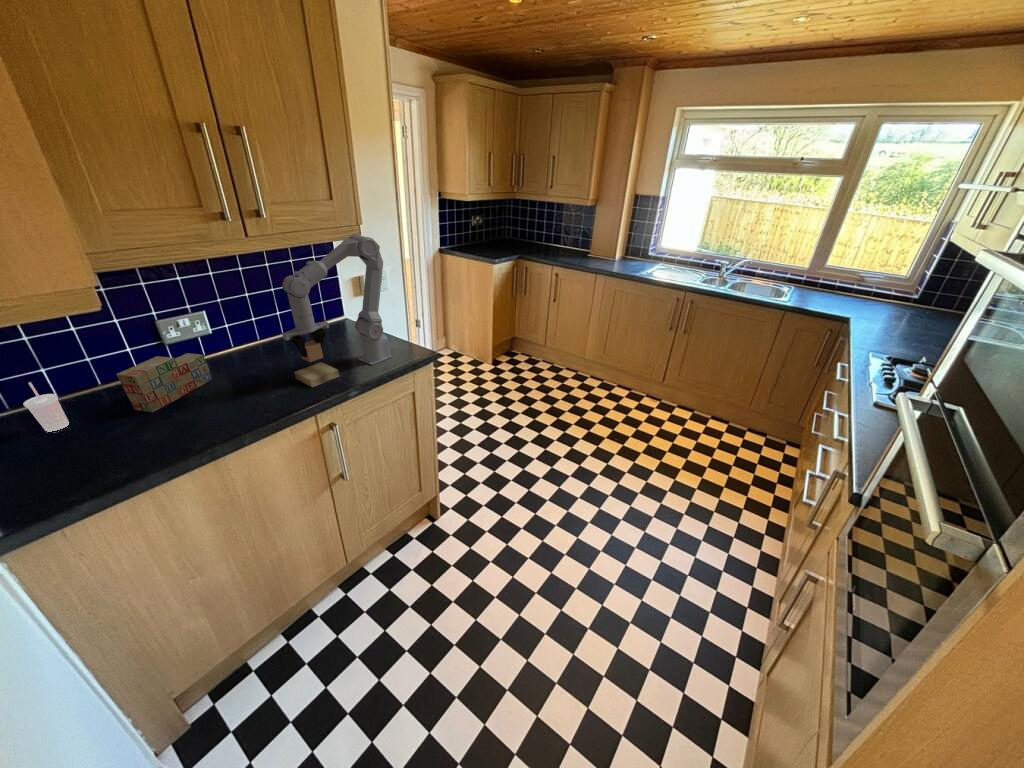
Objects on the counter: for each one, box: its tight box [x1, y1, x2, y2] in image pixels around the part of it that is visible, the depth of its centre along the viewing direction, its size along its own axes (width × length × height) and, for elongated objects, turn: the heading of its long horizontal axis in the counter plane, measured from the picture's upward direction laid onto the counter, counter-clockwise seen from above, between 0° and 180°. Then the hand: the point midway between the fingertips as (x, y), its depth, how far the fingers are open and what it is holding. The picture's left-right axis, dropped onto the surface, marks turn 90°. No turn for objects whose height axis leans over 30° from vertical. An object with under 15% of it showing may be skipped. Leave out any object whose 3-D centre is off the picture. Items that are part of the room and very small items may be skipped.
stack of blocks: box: [116, 352, 213, 413], centre depth 123 cm, size 21×6×12 cm, turn 169°
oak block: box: [294, 361, 340, 388], centre depth 137 cm, size 10×10×3 cm
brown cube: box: [300, 339, 324, 363], centre depth 133 cm, size 5×5×5 cm
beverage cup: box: [22, 381, 70, 433], centre depth 106 cm, size 6×6×14 cm
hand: (312, 353), depth 133 cm, fingers closed on brown cube, 5 cm apart
